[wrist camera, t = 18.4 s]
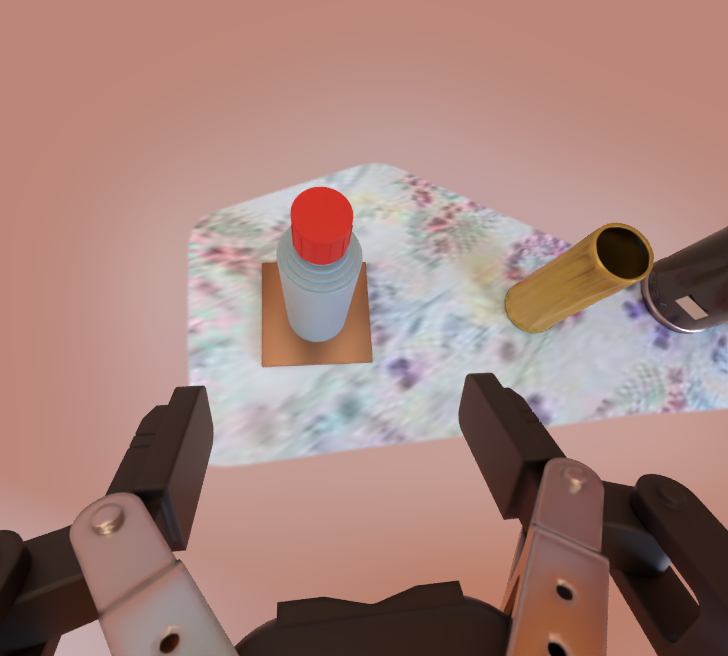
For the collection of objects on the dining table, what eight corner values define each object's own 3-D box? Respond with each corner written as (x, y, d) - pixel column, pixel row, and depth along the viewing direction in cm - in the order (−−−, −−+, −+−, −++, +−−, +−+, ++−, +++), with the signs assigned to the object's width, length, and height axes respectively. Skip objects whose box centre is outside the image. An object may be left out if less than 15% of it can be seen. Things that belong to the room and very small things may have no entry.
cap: (346, 215, 27) (351, 187, 24) (349, 265, 26) (355, 242, 23) (292, 215, 27) (290, 185, 23) (293, 265, 26) (290, 242, 23)
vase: (566, 311, 46) (673, 257, 32) (531, 344, 44) (629, 302, 31) (528, 272, 47) (618, 203, 33) (493, 303, 45) (572, 244, 32)
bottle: (344, 286, 43) (369, 174, 25) (347, 341, 41) (376, 264, 23) (287, 287, 42) (269, 171, 24) (288, 343, 41) (269, 265, 22)
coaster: (364, 263, 45) (365, 261, 44) (371, 362, 42) (372, 361, 41) (262, 264, 43) (261, 262, 43) (262, 367, 40) (261, 366, 40)
